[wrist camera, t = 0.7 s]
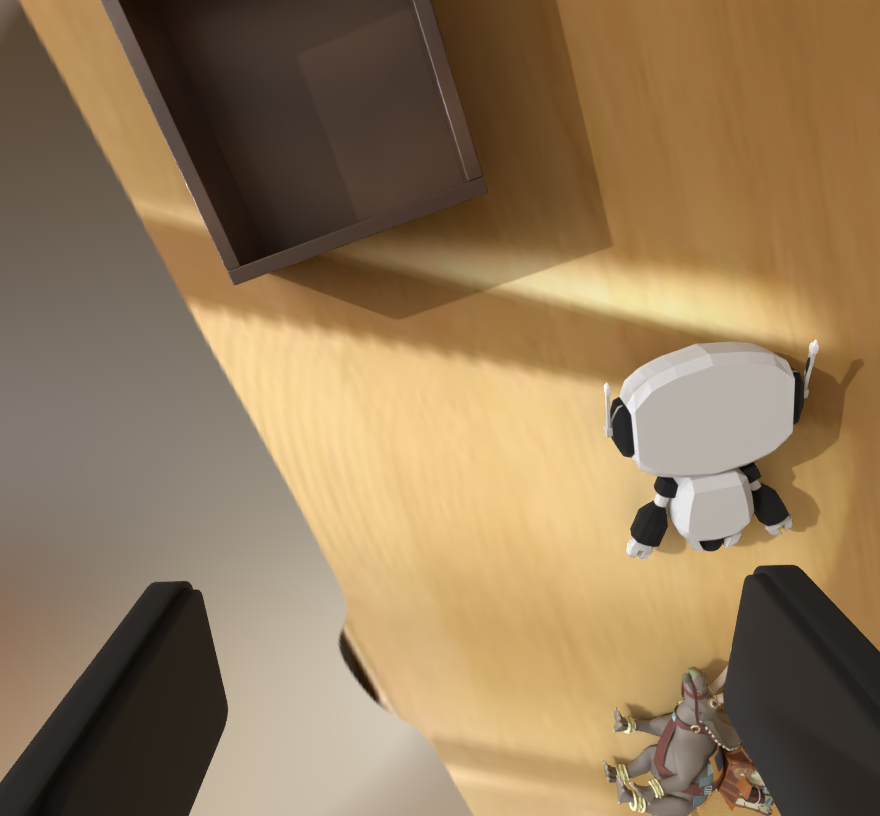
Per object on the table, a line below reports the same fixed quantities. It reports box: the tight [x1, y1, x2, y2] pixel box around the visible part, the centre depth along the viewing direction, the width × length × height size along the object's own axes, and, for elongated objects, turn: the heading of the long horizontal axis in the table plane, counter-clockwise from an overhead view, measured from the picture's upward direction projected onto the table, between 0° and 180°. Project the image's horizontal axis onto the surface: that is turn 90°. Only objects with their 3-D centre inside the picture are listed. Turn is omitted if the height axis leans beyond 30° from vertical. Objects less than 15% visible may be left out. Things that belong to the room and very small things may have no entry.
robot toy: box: [604, 340, 819, 559], centre depth 37 cm, size 12×4×15 cm
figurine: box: [603, 648, 774, 816], centre depth 46 cm, size 20×6×17 cm
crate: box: [101, 0, 488, 285], centre depth 29 cm, size 16×14×6 cm
